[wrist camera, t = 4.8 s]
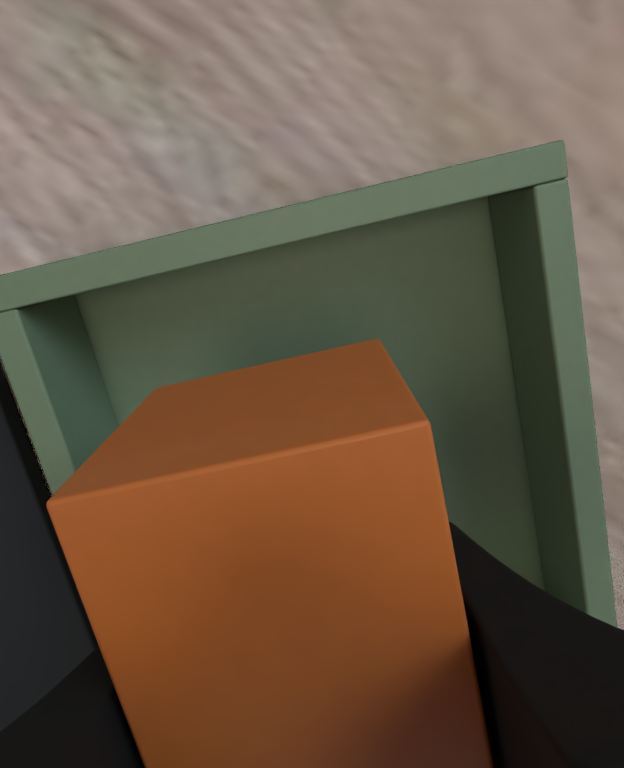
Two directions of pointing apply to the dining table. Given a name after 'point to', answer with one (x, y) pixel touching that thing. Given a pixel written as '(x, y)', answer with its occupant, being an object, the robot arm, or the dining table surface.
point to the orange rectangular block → (278, 572)
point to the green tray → (357, 340)
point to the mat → (32, 580)
